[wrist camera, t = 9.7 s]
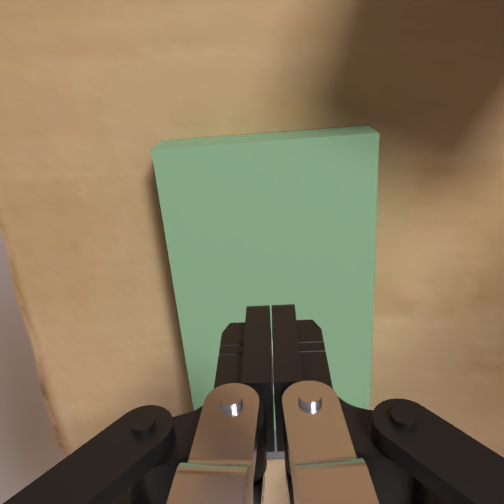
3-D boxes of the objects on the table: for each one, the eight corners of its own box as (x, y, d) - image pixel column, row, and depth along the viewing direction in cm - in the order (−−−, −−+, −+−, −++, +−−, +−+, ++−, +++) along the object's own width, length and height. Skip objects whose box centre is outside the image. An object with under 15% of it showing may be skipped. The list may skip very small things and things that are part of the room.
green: (160, 140, 27) (101, 196, 17) (368, 125, 26) (436, 173, 16) (204, 424, 36) (182, 573, 26) (361, 417, 35) (402, 565, 25)
